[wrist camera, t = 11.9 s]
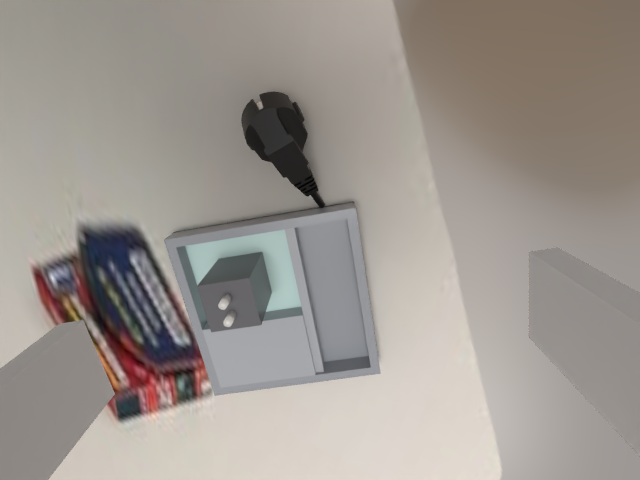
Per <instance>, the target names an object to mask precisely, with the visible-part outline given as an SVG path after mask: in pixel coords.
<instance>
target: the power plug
mask: <svg viewBox="0 0 640 480" xmlns="http://www.w3.org/2000/svg"><path fill="white" fill-rule="evenodd" d="M260 99H261V101H259V102H258V103H255V102H254V100H253V99H252V100H251V101H250V102H249V103H248V104H247V105H246V107H245V109H244V111H243V114H242V127H243V131H244V135H245V139H246V142H247V144H248V146H249V147H250V148H251V149H252V150H255V152H256V153H257V154H258V155H259V157H260V158H261V159H262V160H265V161H269V162H272V163H273V164H274V166H275V167H276V168H277V170H278V171H279V172H280V174H281V175H282V176H283V177H287V178H288V179H289V181H290V182H291V183H292V184H293V185H294V186H295V187H297V188H298V189H299V190H300V191H301V192H302V193H303V194H304V195H306V196H309V195H311V196H312V197H313V199H314V200H315V202H316V203H317V204H318V206H319V207H320V208H323V207H324V206H325V204H324V202H323V201H322V199H321V198H320V196H319V195H318V193H317V191H318V187H317V184H316V182H315V180H314V177H313V175H312V172H311V170H310V168H309V165H308V164H309V163H308V161H307V159H306V158H305V156H304V155H303V153H302V151H303V148H304V145H305V142H306V139H307V131H306V129H305V127H304V124H303V121H304V117H303V115H302V113H301V110H300V108H299V107H298V105H297V103H296V102H294V103H292V102H291V101H290V99H289V97H288V95H285V94H283V93H279V92H267V93H263V94H260Z"/></svg>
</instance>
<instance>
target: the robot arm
mask: <svg viewBox="0 0 640 480" xmlns="http://www.w3.org/2000/svg"><path fill="white" fill-rule="evenodd" d="M529 338H530V339H531V340H532V341H533V342H534V343H535V344H536V345H537V347H538V348H539V349H540V350H541V351H542V352H543V353H544V354H545V355H546V356H547V357H548V358H549V359H550V360H551V361H552V363H553V364H554V365H555V366H556V367H557V368H558V369H559V370H560V371H561V372H562V373H563V374H564V376H565V377H566V378H567V379H568V380H569V381H570V382H571V383H572V384H573V385H574V386H575V387H576V389H577V390H578V391H579V392H580V393H581V394H582V395H583V396H584V397H585V398H586V399H587V400H588V401H589V402H590V404H591V405H592V406H593V407H594V408H595V409H596V410H597V411H598V412H599V413H600V414H601V415H602V416H603V418H604V419H605V420H606V421H607V422H608V423H609V424H610V425H611V426H612V427H613V428H614V429H615V430H616V432H617V433H618V434H619V435H620V436H621V437H622V438H623V439H624V440H625V441H626V442H627V443H628V444H629V446H630V447H632V449H633V450H634V451H635V452H636V453H637V454H638V455H639V456H640V293H639V292H638V291H636V290H634V289H632V288H630V287H629V286H627V285H625V284H623V283H621V282H619V281H618V280H616V279H614V278H612V277H610V276H609V275H607V274H605V273H603V272H601V271H599V270H598V269H596V268H594V267H592V266H590V265H589V264H587V263H585V262H583V261H581V260H580V259H578V258H576V257H574V256H572V255H571V254H569V253H567V252H565V251H563V250H561V249H560V248H551V249H545V250H538V251H531V252H529ZM114 394H115V393H114V391H113V388H112V386H111V384H110V381H109V379H108V377H107V375H106V372H105V370H104V368H103V365H102V363H101V361H100V358H99V356H98V354H97V351H96V349H95V347H94V344H93V342H92V340H91V337H90V335H89V333H88V331H87V328H86V326H85V324H84V321H83V320H82V321H75V322H69V323H62V324H59V325H57V326H56V327H55V328H53V329H52V330H51V331H49V332H48V333H47V334H46V335H44V336H43V337H42V338H40V339H39V340H38V341H36V342H35V343H34V344H32V345H31V346H30V347H28V348H27V349H26V350H24V351H23V352H22V353H21V354H19V355H18V356H17V357H15V358H14V359H13V360H11V361H10V362H9V363H7V364H6V365H5V366H3V367H2V368H1V369H0V480H48V479H49V478H50V477H51V475H52V474H53V473H54V471H55V470H56V469H57V468H58V466H59V465H60V464H61V462H62V461H63V460H64V459H65V457H66V456H67V455H68V453H69V452H70V451H71V450H72V448H73V447H74V446H75V444H76V443H77V442H78V441H79V439H80V438H81V437H82V435H83V434H84V433H85V432H86V430H87V429H88V428H89V426H90V425H91V424H92V423H93V421H94V420H95V419H96V417H97V416H98V415H99V414H100V412H101V411H102V410H103V408H104V407H105V406H106V405H107V403H108V402H109V401H110V399H111V398H112V397H113V396H114Z"/></svg>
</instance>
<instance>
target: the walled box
mask: <svg viewBox="0 0 640 480" xmlns="http://www.w3.org/2000/svg"><path fill="white" fill-rule="evenodd" d="M164 242H165V245H166V248H167V251H168V254H169V257H170V260H171V263H172V266H173V269H174V272H175V275H176V278H177V281H178V284H179V287H180V290H181V294H182V297H183V300H184V303H185V306H186V309H187V312H188V315H189V318H190V321H191V324H192V327H193V330H194V333H195V336H196V339H197V342H198V345H199V349H200V352H201V355H202V358H203V361H204V364H205V367H206V370H207V373H208V376H209V379H210V382H211V385H212V388H213V391H214V394H215V396H216V395H223V394H231V393H238V392H246V391H253V390H261V389H268V388H276V387H283V386H291V385H298V384H306V383H313V382H321V381H328V380H336V379H343V378H351V377H358V376H366V375H373V374H381V373H380V366H379V360H378V353H377V347H376V340H375V333H374V327H373V320H372V313H371V307H370V300H369V293H368V287H367V280H366V273H365V267H364V260H363V253H362V247H361V240H360V233H359V227H358V220H357V213H356V207H355V204H354V202H350V203H344V204H338V205H332V206H326V207H323V208H314V209H308V210H303V211H297V212H291V213H285V214H279V215H273V216H267V217H261V218H255V219H249V220H243V221H238V222H232V223H226V224H220V225H214V226H208V227H202V228H196V229H190V230H184V231H178V232H174V233H173V234H172V235H170V236H169V237H167V238H166V239H165V240H164ZM258 252H263V256H264V261H265V265H266V269H267V273H268V277H269V282H270V286H271V290H272V294H271V297H270V300H269V303H268V306H267V309H266V313H265V316H264V319H263V322H262V325H259V326H252V327H245V328H238V329H231V330H224V331H218V332H211V330H210V327H209V324H208V320H207V317H206V314H205V311H204V307H203V304H202V301H201V298H200V294H199V291H198V288H197V285H198V284H199V283H200V282H201V280H202V279H203V278H204V277H205V275H206V274H207V273H208V271H209V270H210V269H211V268H212V266H213V265H214V264H215V263H216V261H217V260H218V259H220V258H226V257H232V256H239V255H245V254H251V253H258Z"/></svg>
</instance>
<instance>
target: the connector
mask: <svg viewBox="0 0 640 480" xmlns="http://www.w3.org/2000/svg"><path fill="white" fill-rule="evenodd" d="M197 288H198V291H199V294H200V298H201V301H202V304H203V307H204V311H205V314H206V317H207V320H208V324H209V327H210V330H211V332H218V331H224V330H231V329H238V328H245V327H252V326H259V325H262V322H263V319H264V316H265V313H266V309H267V306H268V303H269V300H270V297H271V294H272V290H271V286H270V282H269V277H268V273H267V269H266V265H265V261H264V256H263V252H258V253H251V254H245V255H239V256H232V257H226V258H220V259H218V260H217V261H216V263H215V264H214V265H213V266H212V268H211V269H210V270H209V271H208V273H207V274H206V275H205V277H204V278H203V279H202V280H201V282H200V283H199V284H198V285H197Z"/></svg>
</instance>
